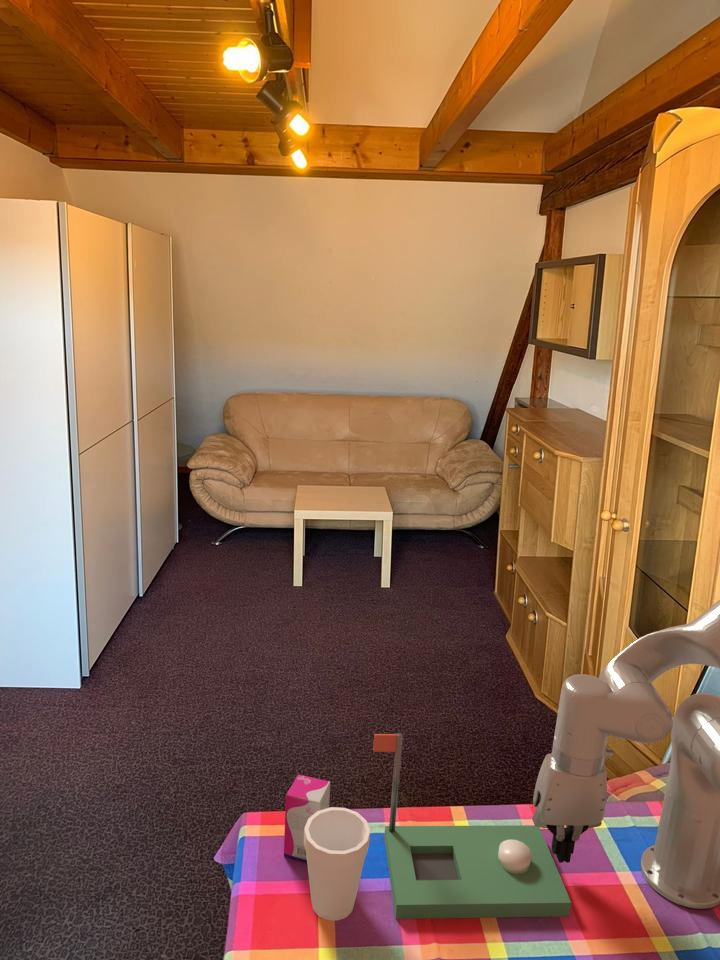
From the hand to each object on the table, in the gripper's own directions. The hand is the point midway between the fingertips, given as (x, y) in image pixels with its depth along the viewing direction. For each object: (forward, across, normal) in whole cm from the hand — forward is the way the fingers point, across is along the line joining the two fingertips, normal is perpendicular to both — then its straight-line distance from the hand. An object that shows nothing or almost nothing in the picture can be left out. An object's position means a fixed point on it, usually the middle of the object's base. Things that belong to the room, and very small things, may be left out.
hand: (561, 855), depth 118 cm
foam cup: (+4, +36, +5) cm, 37 cm away
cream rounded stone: (+1, +8, 0) cm, 8 cm away
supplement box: (+4, +40, -6) cm, 41 cm away
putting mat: (+4, +16, 0) cm, 16 cm away
